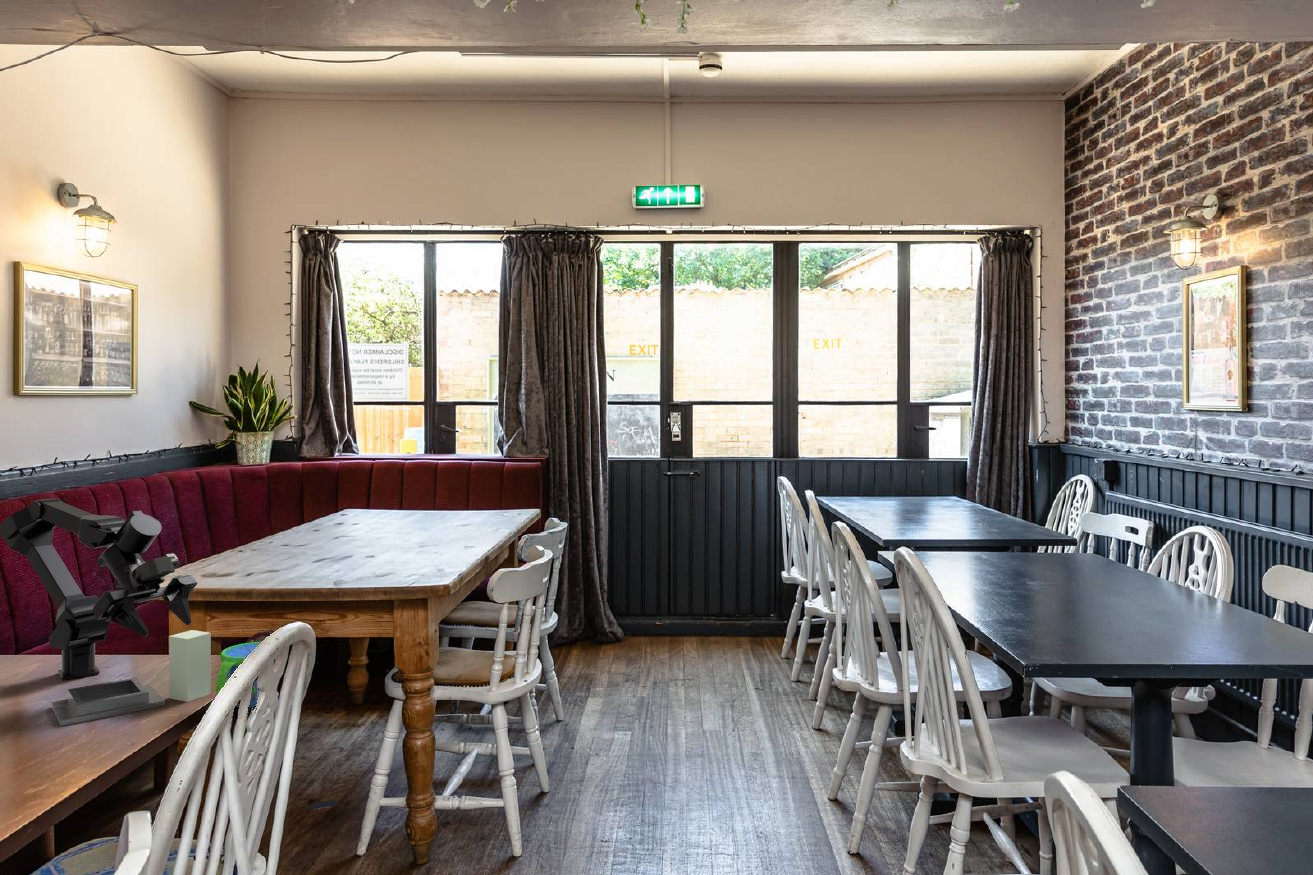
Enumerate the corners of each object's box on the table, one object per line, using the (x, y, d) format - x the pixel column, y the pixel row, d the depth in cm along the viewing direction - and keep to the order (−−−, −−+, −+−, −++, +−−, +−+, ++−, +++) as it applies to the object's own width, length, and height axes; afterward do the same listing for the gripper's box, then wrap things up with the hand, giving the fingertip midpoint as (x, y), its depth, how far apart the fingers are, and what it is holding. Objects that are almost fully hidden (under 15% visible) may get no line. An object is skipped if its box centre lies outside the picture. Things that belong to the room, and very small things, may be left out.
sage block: (169, 698, 163) (169, 636, 162) (192, 690, 167) (192, 630, 167) (188, 702, 161) (187, 639, 161) (210, 693, 166) (210, 632, 165)
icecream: (280, 640, 181) (290, 629, 195) (243, 633, 179) (256, 622, 193) (271, 673, 180) (282, 659, 194) (234, 666, 178) (247, 652, 193)
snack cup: (238, 720, 152) (238, 663, 152) (195, 711, 156) (195, 656, 156) (304, 693, 167) (304, 642, 166) (264, 686, 171) (264, 635, 170)
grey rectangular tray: (51, 707, 157) (50, 691, 157) (150, 689, 168) (150, 674, 167) (60, 726, 148) (60, 709, 148) (164, 705, 159) (164, 689, 159)
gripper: (102, 549, 159) (144, 613, 155) (190, 535, 176) (230, 593, 172) (74, 587, 162) (115, 651, 158) (163, 570, 179) (202, 628, 176)
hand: (168, 629), depth 166 cm, fingers open, 9 cm apart
